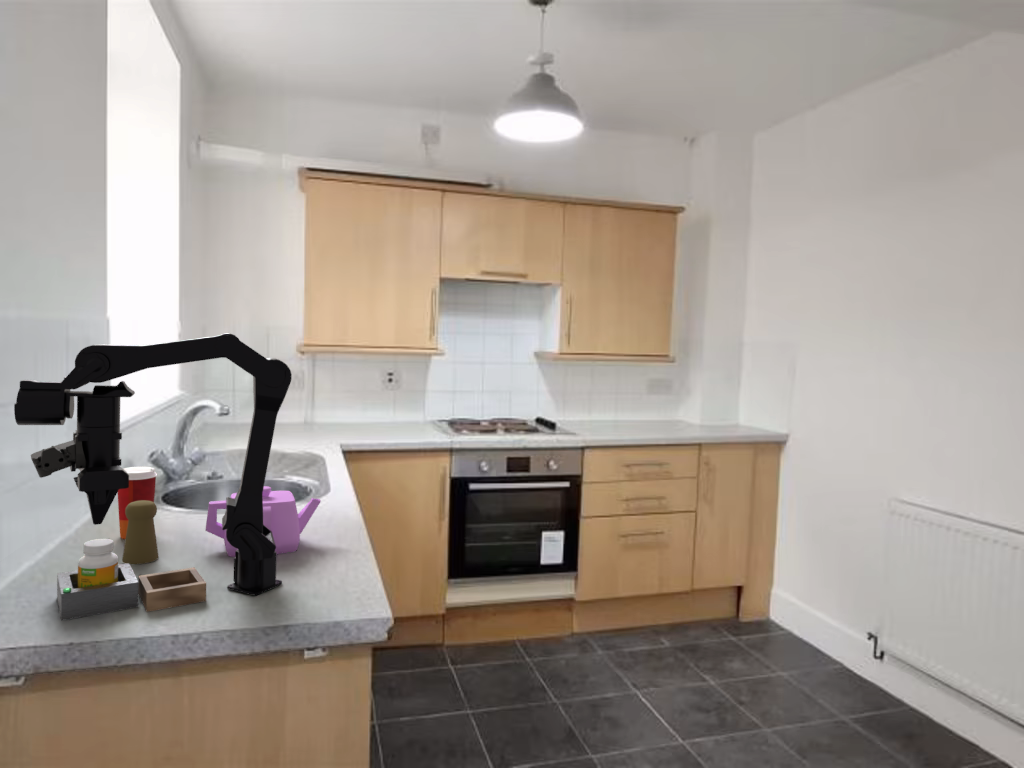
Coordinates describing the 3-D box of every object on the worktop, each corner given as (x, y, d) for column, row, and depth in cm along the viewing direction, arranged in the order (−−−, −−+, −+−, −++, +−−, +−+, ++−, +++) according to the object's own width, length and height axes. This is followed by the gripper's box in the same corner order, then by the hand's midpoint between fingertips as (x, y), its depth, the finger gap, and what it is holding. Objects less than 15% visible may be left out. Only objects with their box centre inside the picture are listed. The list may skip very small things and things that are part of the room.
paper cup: (159, 529, 144) (160, 465, 143) (152, 540, 137) (153, 473, 136) (118, 531, 141) (119, 466, 140) (109, 542, 134) (110, 473, 133)
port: (128, 586, 112) (129, 560, 112) (138, 606, 104) (138, 579, 104) (57, 597, 106) (57, 570, 106) (61, 620, 98) (61, 591, 98)
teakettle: (197, 551, 132) (198, 490, 131) (257, 530, 148) (258, 475, 147) (267, 565, 126) (269, 501, 125) (322, 541, 142) (324, 484, 141)
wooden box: (194, 584, 115) (194, 567, 115) (205, 601, 108) (206, 583, 108) (138, 593, 110) (138, 575, 109) (146, 611, 103) (147, 592, 103)
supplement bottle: (74, 611, 102) (74, 548, 101) (81, 597, 107) (81, 538, 106) (114, 607, 104) (115, 546, 103) (119, 594, 109) (120, 536, 108)
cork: (117, 557, 126) (118, 500, 125) (152, 551, 130) (153, 496, 129) (127, 566, 121) (128, 507, 121) (163, 560, 126) (164, 502, 125)
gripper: (33, 419, 106) (32, 515, 107) (37, 436, 91) (36, 547, 92) (114, 417, 113) (112, 508, 114) (130, 432, 98) (128, 537, 99)
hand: (97, 523), depth 105 cm, fingers closed
